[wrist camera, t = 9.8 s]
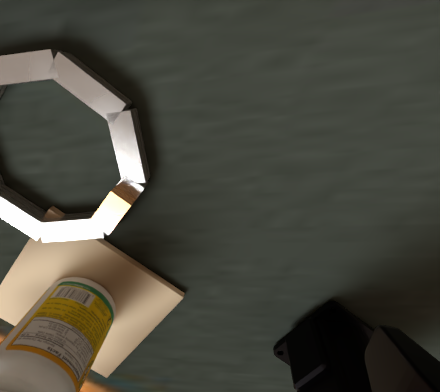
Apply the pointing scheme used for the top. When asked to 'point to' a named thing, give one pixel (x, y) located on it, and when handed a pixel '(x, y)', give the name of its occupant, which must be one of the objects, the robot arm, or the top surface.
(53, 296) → the supplement bottle
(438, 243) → the top surface
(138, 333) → the coaster
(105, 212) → the grey octagonal ring
